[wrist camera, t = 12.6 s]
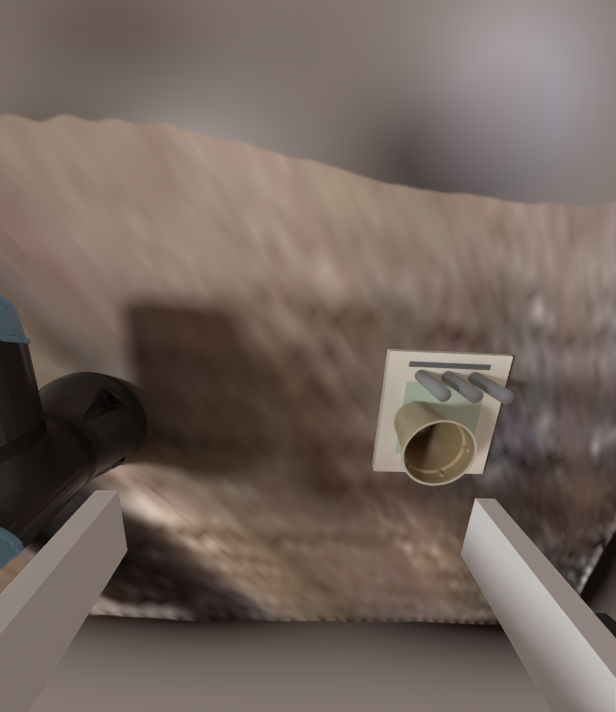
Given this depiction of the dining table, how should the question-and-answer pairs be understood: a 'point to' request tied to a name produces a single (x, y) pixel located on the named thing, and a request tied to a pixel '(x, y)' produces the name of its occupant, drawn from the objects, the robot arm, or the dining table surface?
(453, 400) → the board
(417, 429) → the flower pot
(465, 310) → the dining table surface
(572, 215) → the dining table surface
